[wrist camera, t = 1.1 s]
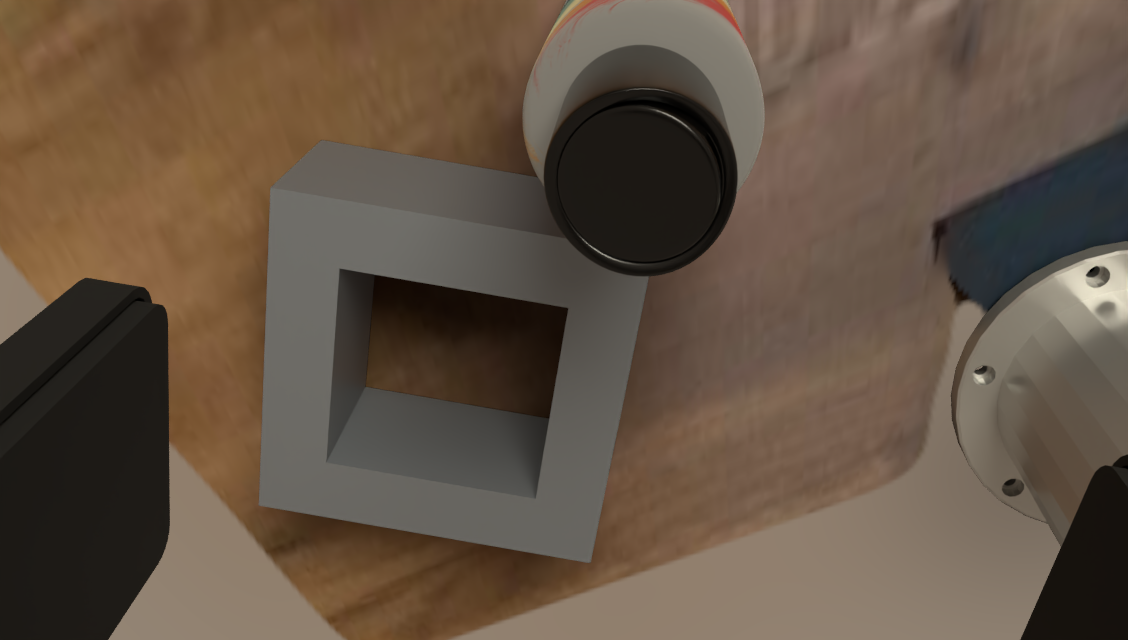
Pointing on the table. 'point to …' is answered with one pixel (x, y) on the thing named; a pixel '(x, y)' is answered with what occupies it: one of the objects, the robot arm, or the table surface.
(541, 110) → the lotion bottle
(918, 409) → the table surface
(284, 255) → the sleeve
